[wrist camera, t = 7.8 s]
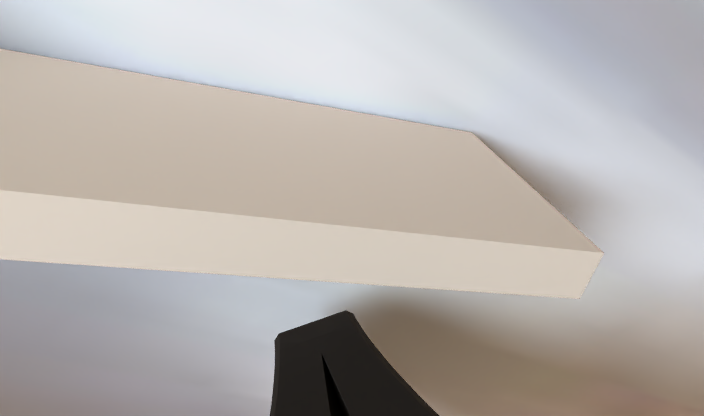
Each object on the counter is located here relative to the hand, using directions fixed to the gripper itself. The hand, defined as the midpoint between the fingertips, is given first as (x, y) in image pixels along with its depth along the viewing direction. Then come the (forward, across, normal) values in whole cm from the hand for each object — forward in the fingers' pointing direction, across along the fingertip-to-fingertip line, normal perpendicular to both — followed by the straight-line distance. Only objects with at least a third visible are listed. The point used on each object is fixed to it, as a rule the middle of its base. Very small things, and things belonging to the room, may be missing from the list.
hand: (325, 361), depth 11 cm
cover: (+1, +1, -5) cm, 5 cm away
